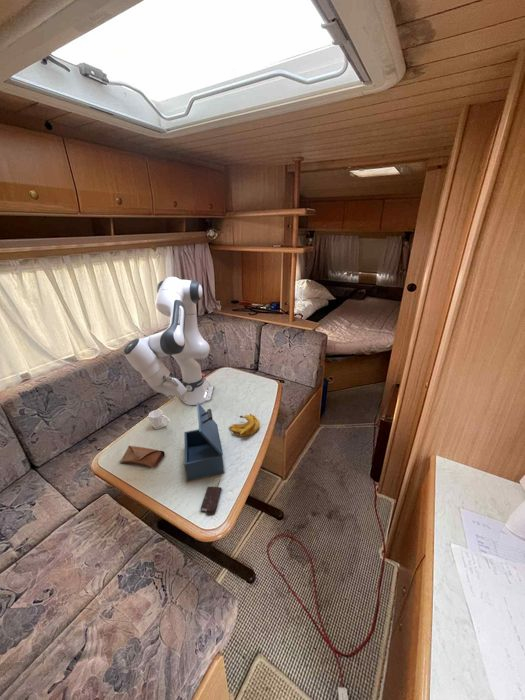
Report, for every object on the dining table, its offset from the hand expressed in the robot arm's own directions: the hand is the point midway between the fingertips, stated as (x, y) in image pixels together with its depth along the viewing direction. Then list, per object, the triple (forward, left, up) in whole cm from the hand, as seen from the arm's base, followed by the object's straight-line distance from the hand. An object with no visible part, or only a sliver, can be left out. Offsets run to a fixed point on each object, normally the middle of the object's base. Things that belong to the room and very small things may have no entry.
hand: (178, 399), depth 113 cm
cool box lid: (+1, +12, -13) cm, 18 cm away
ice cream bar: (+19, +19, -30) cm, 40 cm away
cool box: (+2, +9, -29) cm, 31 cm away
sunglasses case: (+6, -19, -30) cm, 36 cm away
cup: (-16, -22, -30) cm, 40 cm away
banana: (-21, +22, -30) cm, 42 cm away
